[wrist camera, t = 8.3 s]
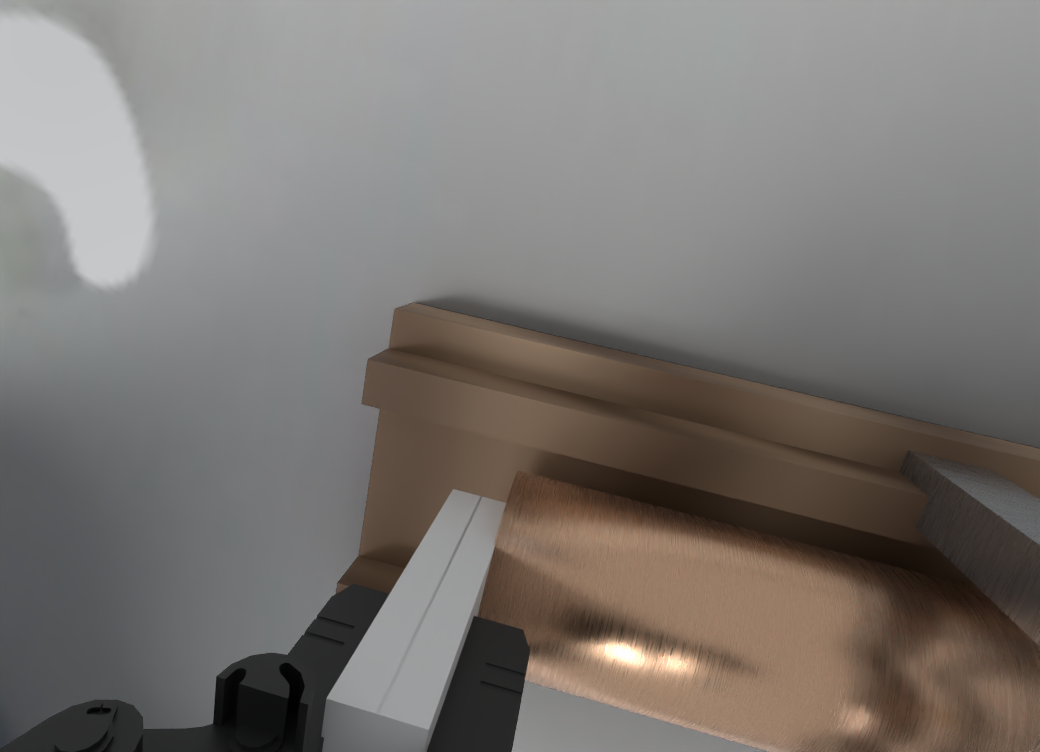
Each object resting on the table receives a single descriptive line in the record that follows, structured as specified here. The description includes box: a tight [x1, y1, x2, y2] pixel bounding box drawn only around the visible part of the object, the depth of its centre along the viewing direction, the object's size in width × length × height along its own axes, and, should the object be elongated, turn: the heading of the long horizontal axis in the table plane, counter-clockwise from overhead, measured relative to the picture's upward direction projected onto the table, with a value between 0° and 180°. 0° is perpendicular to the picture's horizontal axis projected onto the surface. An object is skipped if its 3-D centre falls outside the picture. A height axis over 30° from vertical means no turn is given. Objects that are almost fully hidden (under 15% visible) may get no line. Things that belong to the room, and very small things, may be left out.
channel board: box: [336, 303, 1040, 594], centre depth 15 cm, size 27×10×3 cm, turn 78°
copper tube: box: [477, 471, 1040, 752], centre depth 13 cm, size 20×5×5 cm, turn 78°
